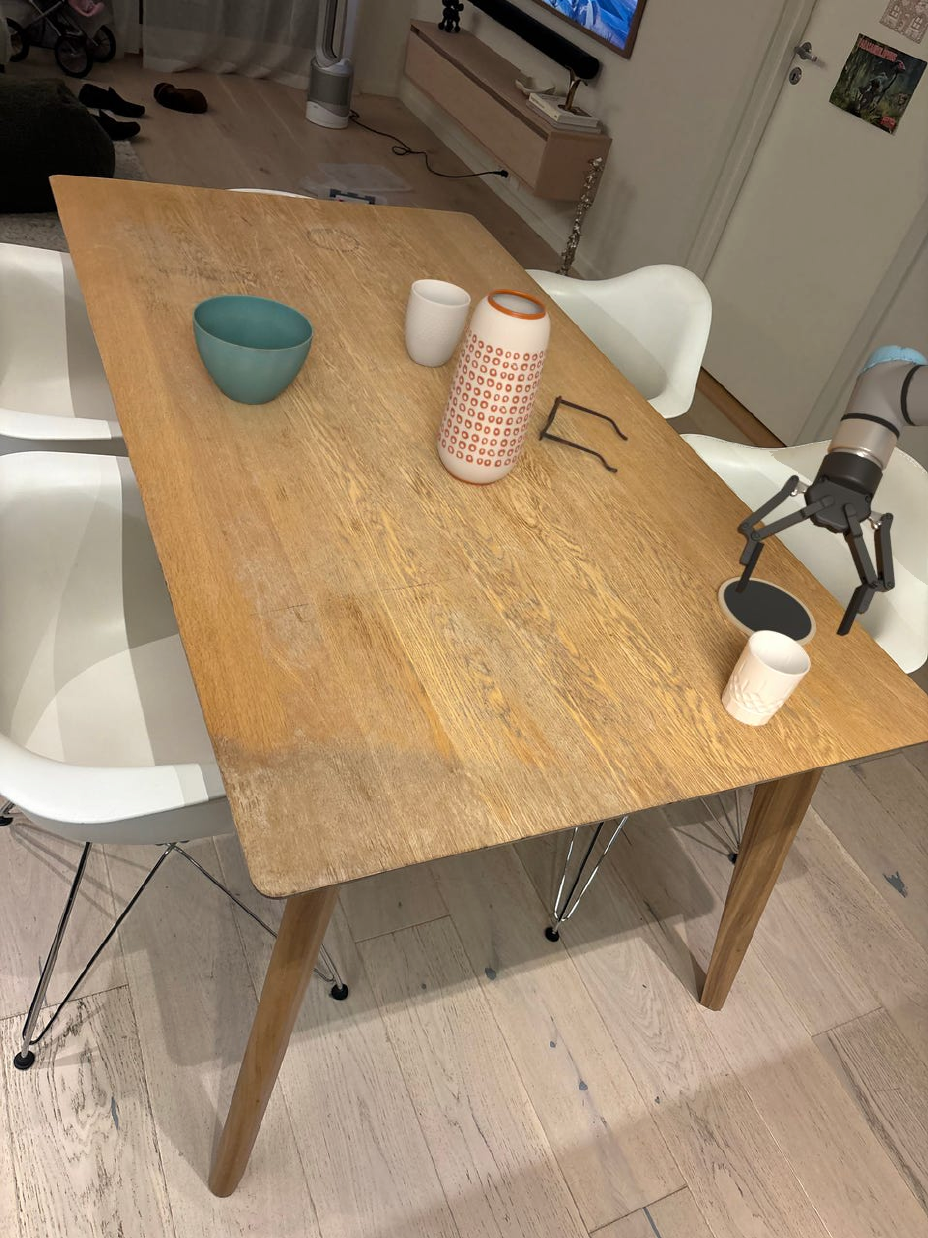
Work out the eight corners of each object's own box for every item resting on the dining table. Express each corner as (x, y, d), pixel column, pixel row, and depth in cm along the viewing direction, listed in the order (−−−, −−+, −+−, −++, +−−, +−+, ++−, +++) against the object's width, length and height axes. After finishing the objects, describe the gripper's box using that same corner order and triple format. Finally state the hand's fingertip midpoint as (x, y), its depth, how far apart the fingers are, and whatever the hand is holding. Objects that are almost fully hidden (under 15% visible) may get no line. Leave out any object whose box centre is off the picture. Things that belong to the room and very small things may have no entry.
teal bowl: (310, 425, 145) (320, 354, 138) (190, 416, 140) (193, 341, 132) (299, 370, 158) (307, 302, 150) (189, 359, 152) (191, 287, 144)
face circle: (832, 626, 137) (834, 623, 136) (782, 661, 128) (784, 658, 127) (750, 568, 144) (752, 565, 143) (698, 598, 134) (699, 595, 134)
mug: (384, 334, 176) (396, 267, 168) (436, 336, 181) (451, 271, 172) (409, 372, 167) (423, 304, 158) (464, 374, 171) (480, 307, 163)
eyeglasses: (551, 411, 168) (558, 387, 165) (627, 438, 167) (637, 414, 164) (534, 447, 157) (543, 421, 154) (617, 475, 156) (627, 450, 153)
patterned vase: (527, 476, 149) (580, 311, 131) (481, 504, 140) (531, 331, 122) (462, 438, 153) (505, 274, 135) (413, 463, 144) (453, 290, 126)
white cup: (786, 719, 119) (823, 665, 112) (748, 738, 114) (784, 682, 108) (743, 678, 123) (776, 623, 116) (704, 694, 119) (736, 639, 112)
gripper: (937, 507, 120) (875, 655, 118) (756, 436, 123) (693, 578, 122) (962, 492, 112) (896, 649, 111) (769, 416, 116) (702, 567, 114)
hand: (790, 612), depth 116 cm, fingers open, 13 cm apart
